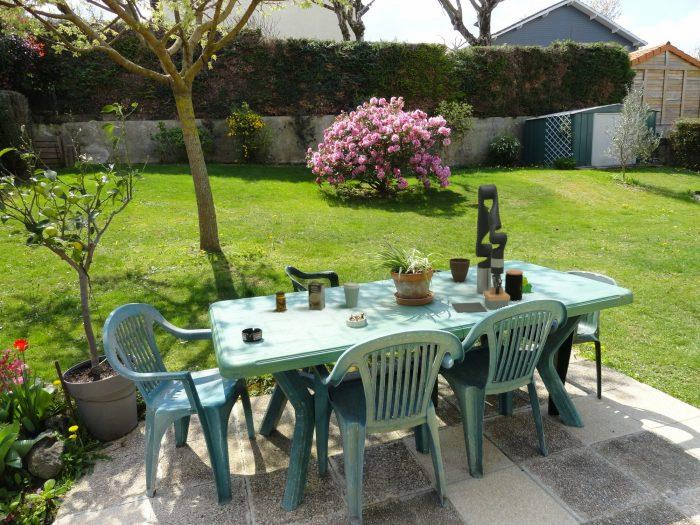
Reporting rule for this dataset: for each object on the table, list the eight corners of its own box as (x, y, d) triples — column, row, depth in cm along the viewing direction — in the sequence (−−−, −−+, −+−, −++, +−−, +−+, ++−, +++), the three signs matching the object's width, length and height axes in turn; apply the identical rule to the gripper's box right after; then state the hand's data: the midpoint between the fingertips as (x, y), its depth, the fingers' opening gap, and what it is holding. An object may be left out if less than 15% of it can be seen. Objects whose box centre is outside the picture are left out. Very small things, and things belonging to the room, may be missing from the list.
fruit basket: (529, 290, 338) (530, 274, 336) (532, 294, 330) (533, 277, 327) (512, 290, 339) (512, 274, 337) (515, 294, 331) (515, 277, 328)
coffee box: (308, 309, 313) (307, 284, 310) (312, 306, 319) (311, 281, 315) (322, 310, 310) (320, 285, 307) (325, 307, 316) (324, 282, 312)
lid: (483, 295, 311) (483, 285, 310) (503, 294, 311) (503, 284, 310) (488, 300, 299) (489, 290, 298) (509, 300, 299) (510, 289, 298)
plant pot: (471, 283, 359) (472, 262, 356) (451, 284, 360) (451, 262, 356) (467, 278, 374) (467, 257, 371) (447, 279, 374) (447, 258, 371)
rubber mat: (451, 303, 314) (451, 303, 314) (479, 302, 314) (479, 302, 314) (457, 312, 297) (457, 312, 296) (487, 311, 297) (487, 311, 296)
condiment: (284, 312, 308) (282, 294, 305) (271, 312, 310) (270, 293, 308) (288, 309, 315) (287, 290, 312) (276, 308, 317) (275, 290, 315)
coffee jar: (523, 301, 314) (524, 273, 310) (505, 301, 316) (506, 273, 312) (520, 296, 324) (522, 269, 320) (503, 296, 326) (504, 269, 322)
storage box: (484, 303, 312) (485, 293, 310) (502, 303, 312) (502, 292, 310) (489, 309, 301) (489, 298, 299) (507, 308, 301) (508, 297, 299)
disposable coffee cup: (352, 302, 324) (351, 280, 321) (364, 305, 316) (363, 282, 313) (340, 306, 316) (339, 283, 313) (352, 309, 309) (351, 286, 306)
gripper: (487, 263, 308) (487, 290, 311) (494, 268, 294) (493, 296, 298) (500, 262, 308) (499, 289, 311) (507, 267, 294) (506, 296, 298)
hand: (496, 293), depth 304 cm, fingers closed on lid, 3 cm apart
